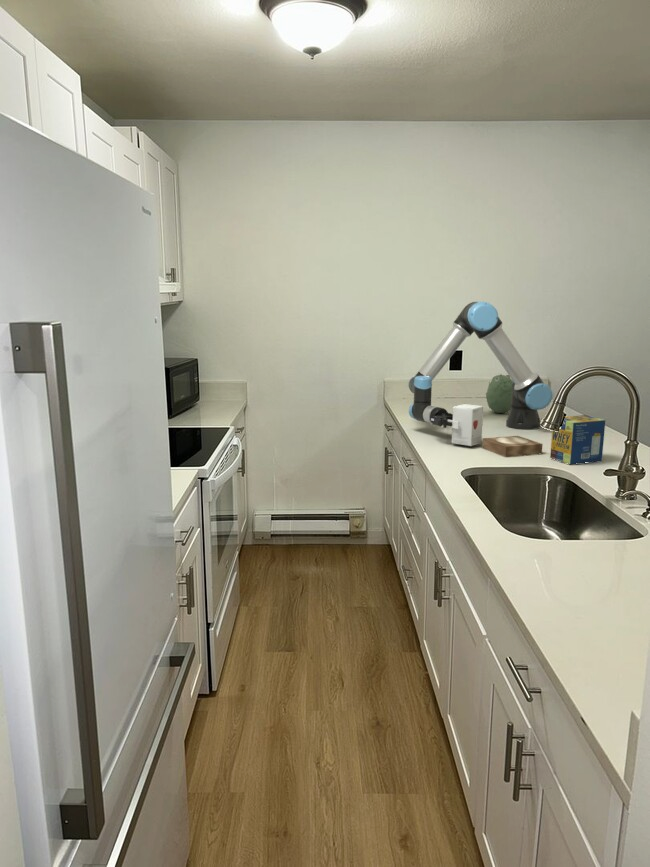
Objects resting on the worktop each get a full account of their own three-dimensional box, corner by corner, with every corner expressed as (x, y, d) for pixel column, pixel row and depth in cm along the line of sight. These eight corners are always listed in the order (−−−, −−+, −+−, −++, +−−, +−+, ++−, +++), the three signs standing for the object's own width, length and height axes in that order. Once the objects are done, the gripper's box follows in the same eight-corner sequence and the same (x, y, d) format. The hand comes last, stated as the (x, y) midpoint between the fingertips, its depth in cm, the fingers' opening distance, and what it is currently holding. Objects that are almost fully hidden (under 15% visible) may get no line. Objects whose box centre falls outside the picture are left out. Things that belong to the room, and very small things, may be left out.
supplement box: (471, 446, 267) (472, 408, 264) (451, 443, 272) (452, 406, 269) (482, 442, 273) (483, 405, 270) (462, 439, 279) (463, 403, 276)
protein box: (549, 459, 251) (552, 417, 248) (581, 455, 257) (584, 414, 254) (569, 465, 242) (572, 422, 239) (602, 461, 248) (606, 419, 245)
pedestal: (517, 445, 274) (517, 434, 273) (541, 454, 259) (542, 443, 258) (482, 448, 269) (482, 437, 268) (505, 457, 254) (505, 445, 253)
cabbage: (511, 410, 357) (513, 372, 353) (520, 416, 339) (523, 376, 335) (481, 410, 357) (483, 372, 353) (489, 416, 339) (491, 376, 335)
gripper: (457, 421, 295) (492, 430, 276) (413, 427, 284) (446, 436, 265) (458, 404, 293) (493, 412, 274) (413, 409, 282) (447, 417, 263)
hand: (470, 424), depth 270 cm, fingers closed on supplement box, 11 cm apart
